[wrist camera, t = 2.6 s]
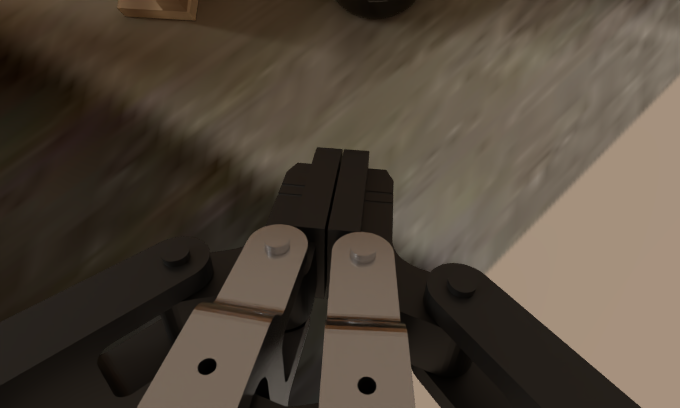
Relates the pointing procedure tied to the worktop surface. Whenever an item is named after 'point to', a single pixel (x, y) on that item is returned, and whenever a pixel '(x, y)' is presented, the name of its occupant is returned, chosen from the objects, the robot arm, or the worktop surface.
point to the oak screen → (159, 9)
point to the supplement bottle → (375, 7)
